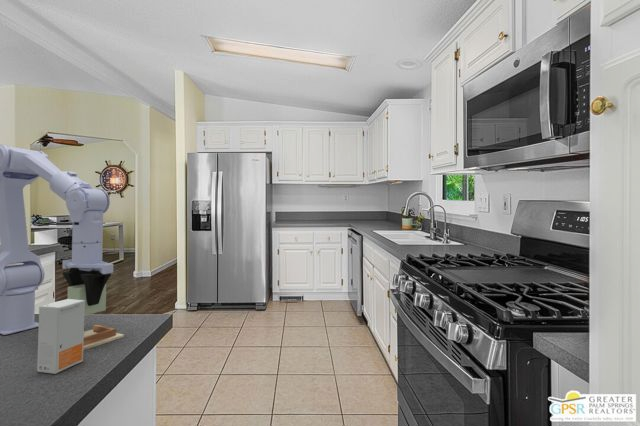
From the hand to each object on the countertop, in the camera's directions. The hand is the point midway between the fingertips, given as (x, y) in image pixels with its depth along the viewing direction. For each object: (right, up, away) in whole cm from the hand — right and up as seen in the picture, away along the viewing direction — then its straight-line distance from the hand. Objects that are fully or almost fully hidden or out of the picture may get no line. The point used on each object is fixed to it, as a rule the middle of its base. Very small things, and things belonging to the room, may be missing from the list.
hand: (86, 303), depth 80 cm
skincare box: (+3, -9, -13) cm, 16 cm away
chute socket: (-1, -9, 0) cm, 9 cm away
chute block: (0, -2, 0) cm, 2 cm away
